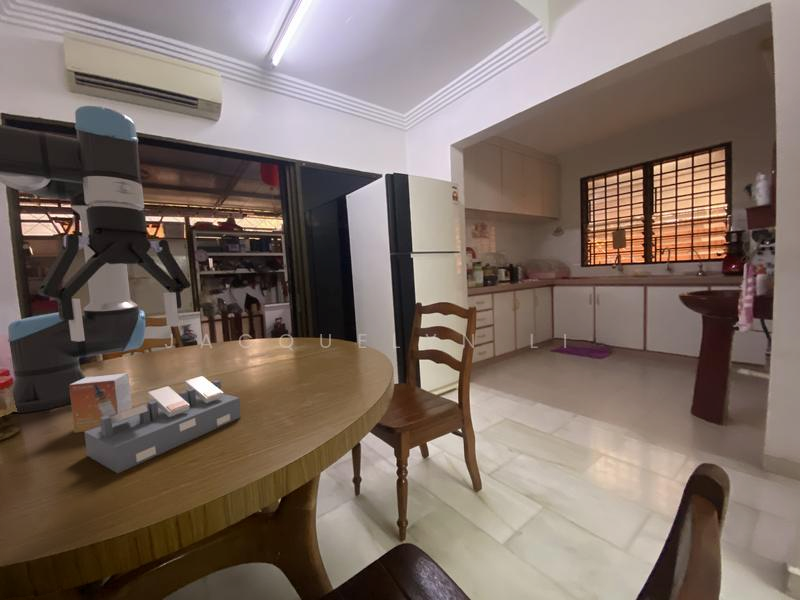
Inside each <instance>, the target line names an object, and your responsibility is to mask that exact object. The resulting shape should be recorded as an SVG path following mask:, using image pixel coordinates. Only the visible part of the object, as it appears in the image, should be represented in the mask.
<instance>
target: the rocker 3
mask: <svg viewBox="0 0 800 600" xmlns="http://www.w3.org/2000/svg"><path fill="white" fill-rule="evenodd" d="M184 386H185V387H186V388H187V390H188V389H195V394H196V395H197V396H198V397H199V398H200V399H202V400H203V401H204V402H205V403H208V402H211V401H214V400H216V399H219V398H222V397H223V394H224V392H223V390H222V389H221V390H220V389H218V388H217V387H216V386H215V385H213V384H212V382H211V381H209V380H208V379H207V378H206V377H204V376H203V375H201V376H198V377H194V378H191V379H188V380H185V382H184Z"/></svg>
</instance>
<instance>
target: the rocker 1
mask: <svg viewBox="0 0 800 600" xmlns="http://www.w3.org/2000/svg"><path fill="white" fill-rule="evenodd" d="M139 405H140V406H138V405H137V406H135V407H132V408H131V409H128V410H125V411H122V412H119V414H116V415H114V416H112V417H111V420H112V424H113V423H116V422H119V421H122V420H125V419H128V418H130V417H133V416H136V415H138V414H141V413H144V412H146V411H148V409H147V406H146V405H141V404H139Z"/></svg>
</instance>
